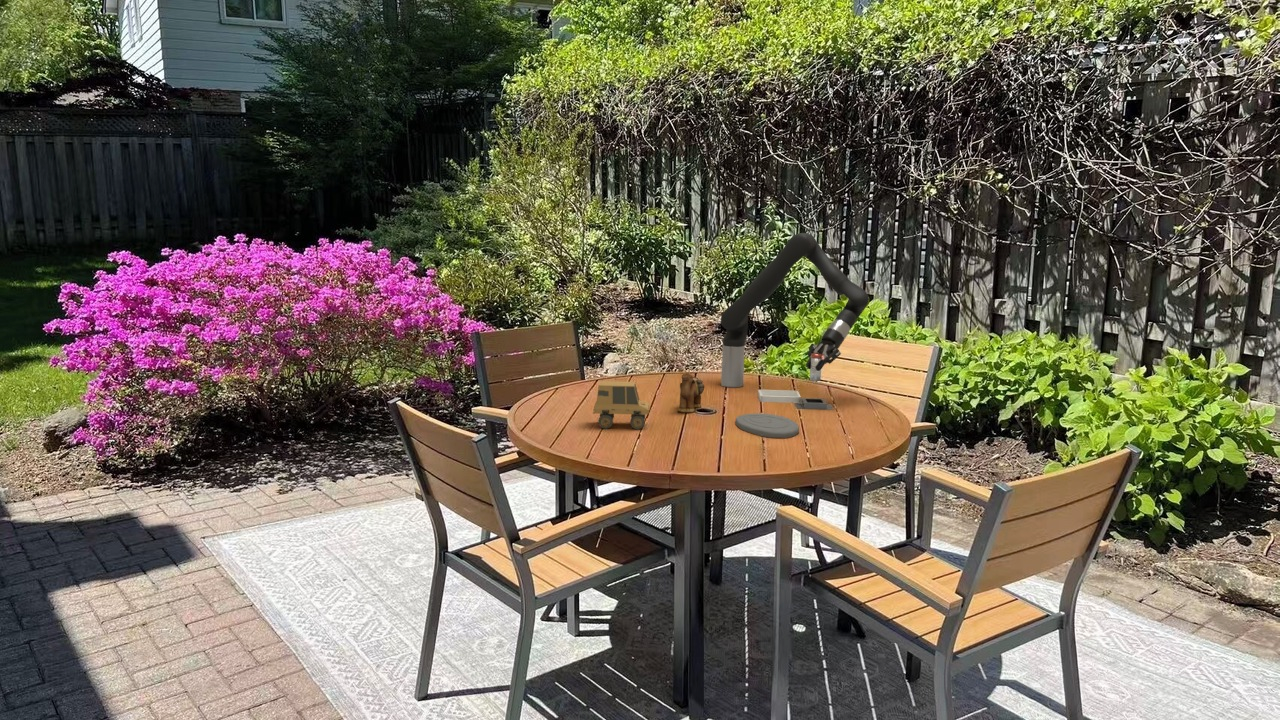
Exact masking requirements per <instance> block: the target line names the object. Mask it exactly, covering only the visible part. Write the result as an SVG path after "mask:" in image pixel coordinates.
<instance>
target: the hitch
mask: <svg viewBox="0 0 1280 720" xmlns="http://www.w3.org/2000/svg"><path fill="white" fill-rule="evenodd" d="M793 404H794V406H795V409H797V410H818V411H819V410H823V411H825V410H826V411H835V408H834V407H833V405H832V404H831V403H827V401H826V400H825V399H824V398H819V397H817V398H815V397H814V398H812V397H810V398H809V397H801V403H793Z"/></svg>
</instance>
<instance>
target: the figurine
mask: <svg viewBox="0 0 1280 720" xmlns="http://www.w3.org/2000/svg"><path fill="white" fill-rule="evenodd" d="M703 382H704V380H702V379H699V378H698V377H696V376H693V375H692V374H691V373H690V372H686V373H683V374H682V375H681V382H680V383H679V389H680V391H679V407H678V408H677V412H678V413H694V412H695V411H696V409H695V408H698V409H699V408H701V407H702V394H703V393H704V391H705V385H704V384H703Z"/></svg>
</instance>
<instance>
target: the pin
mask: <svg viewBox="0 0 1280 720" xmlns="http://www.w3.org/2000/svg"><path fill="white" fill-rule="evenodd" d="M822 356H823V355H822V354H821V353H811V367H810V369H809V370H810V371H809V372H810V373H809V381H813V382H821V377H822V369H821V370H820V371H817V370H816V368H815V367H816V365H817V364H818V362H819V361H820V360H821V358H822Z"/></svg>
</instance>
